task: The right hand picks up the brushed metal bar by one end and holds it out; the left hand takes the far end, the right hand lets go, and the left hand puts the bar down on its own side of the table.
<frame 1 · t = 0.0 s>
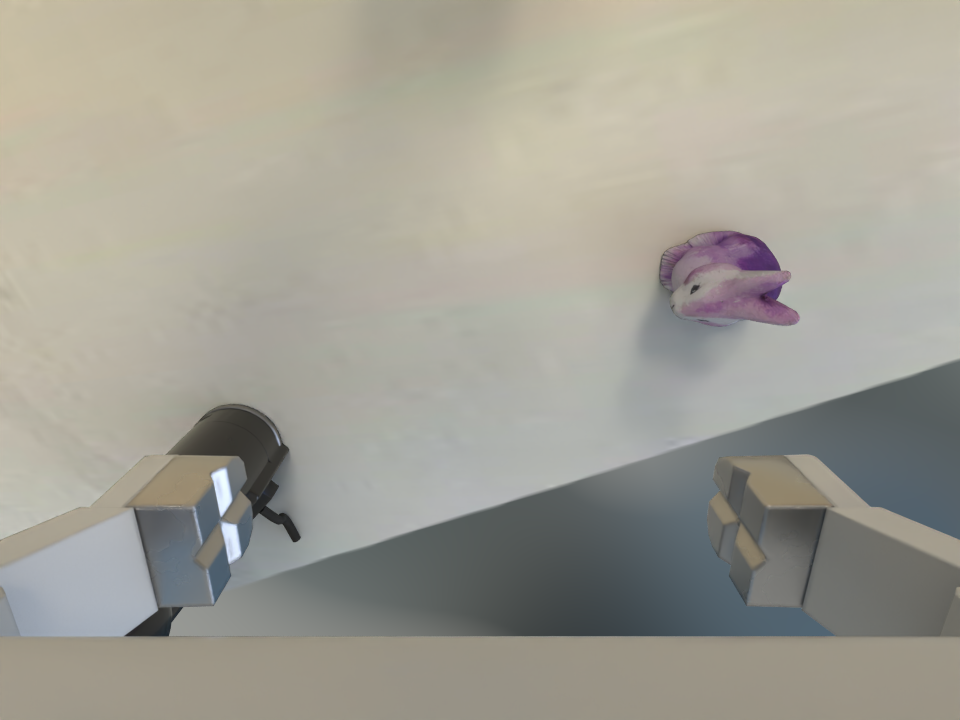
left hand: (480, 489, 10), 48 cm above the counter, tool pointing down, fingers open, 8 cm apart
figurine: (703, 273, 57), on the counter
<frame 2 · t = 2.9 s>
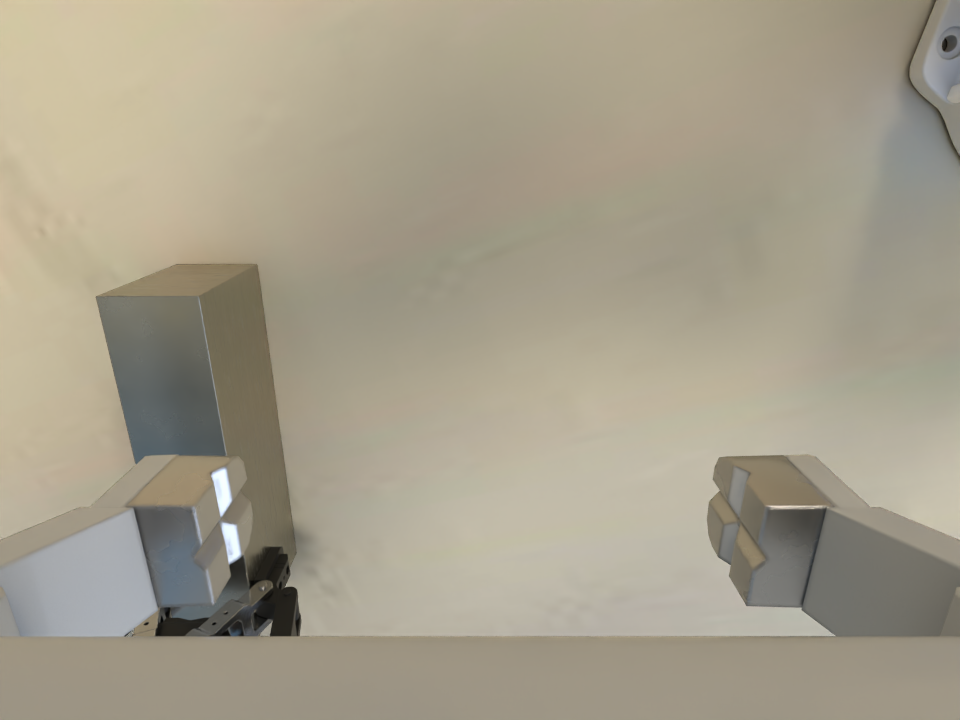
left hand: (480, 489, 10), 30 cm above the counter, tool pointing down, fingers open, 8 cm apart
bar: (242, 422, 43), on the counter, touching right hand
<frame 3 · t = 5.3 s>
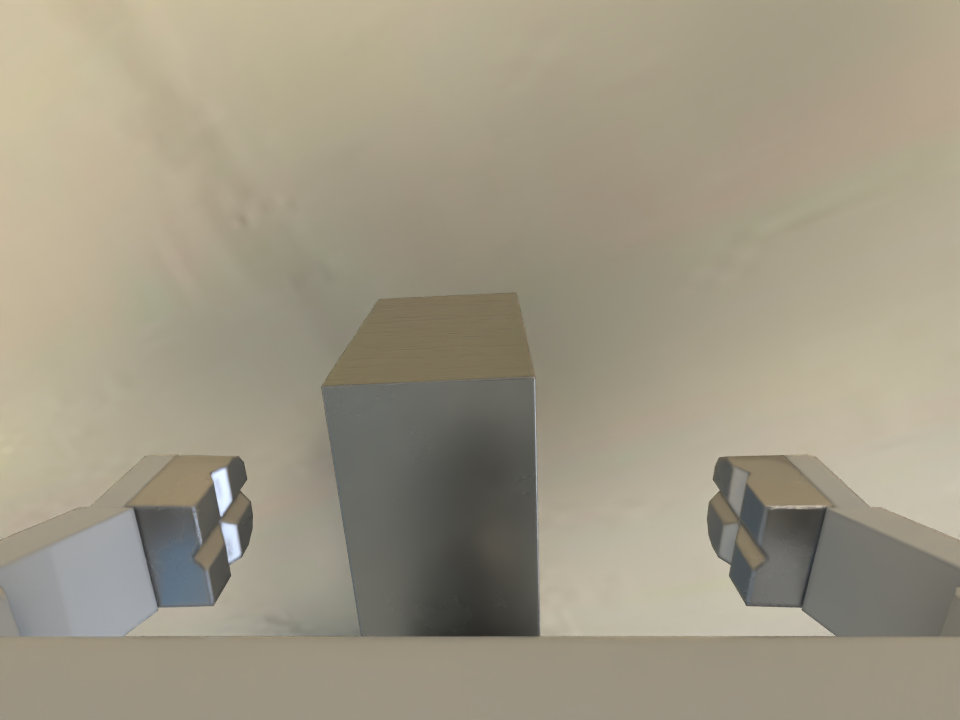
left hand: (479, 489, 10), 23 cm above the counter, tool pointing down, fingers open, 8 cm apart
bar: (465, 541, 27), point 9 cm above the counter, touching right hand
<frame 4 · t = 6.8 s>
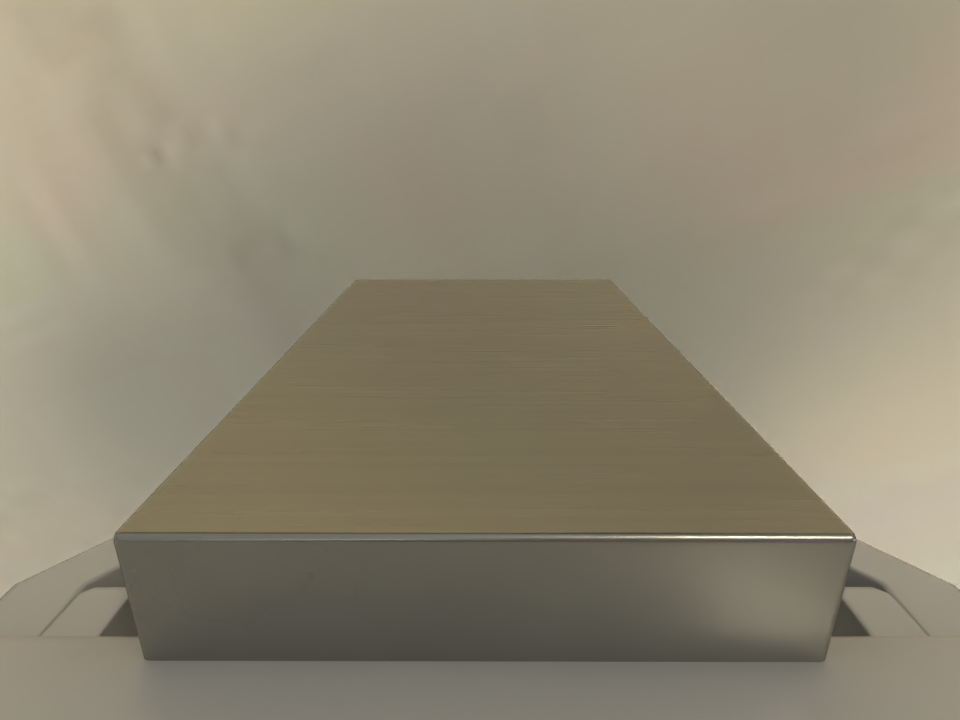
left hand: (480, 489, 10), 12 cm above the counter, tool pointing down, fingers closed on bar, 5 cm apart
bar: (482, 689, 16), point 9 cm above the counter, touching left hand, right hand
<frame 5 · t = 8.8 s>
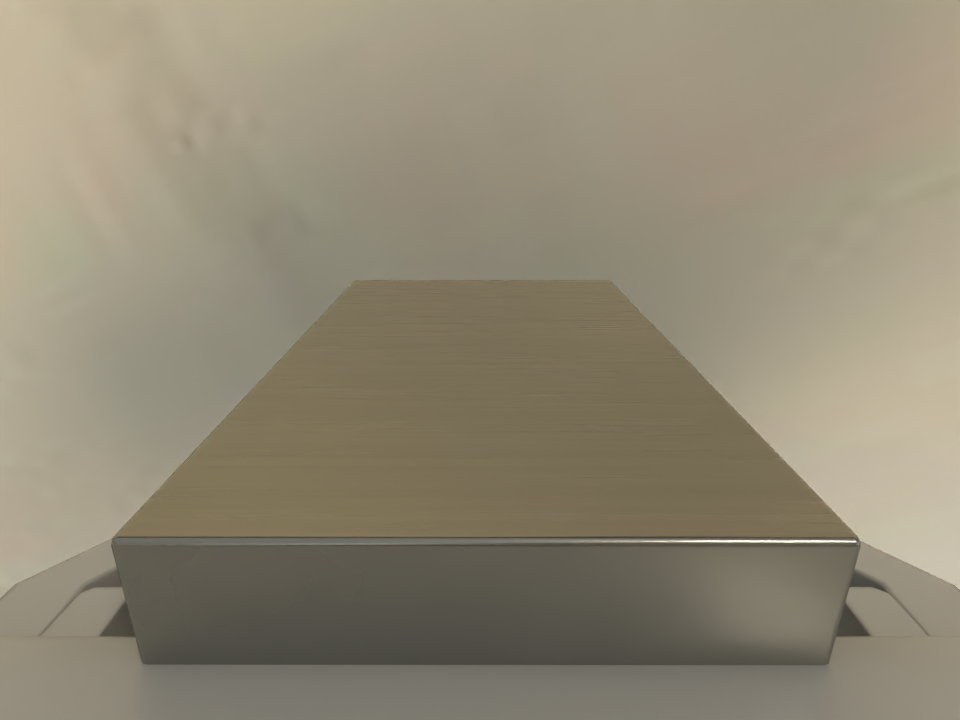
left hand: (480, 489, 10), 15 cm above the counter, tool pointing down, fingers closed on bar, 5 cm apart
bar: (482, 690, 16), point 12 cm above the counter, touching left hand
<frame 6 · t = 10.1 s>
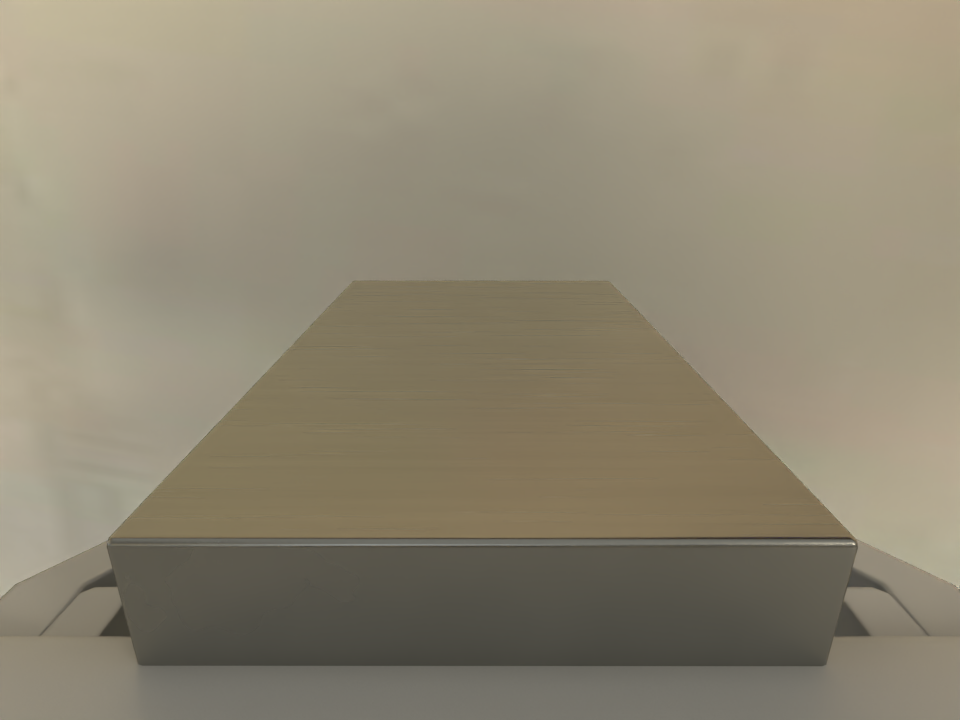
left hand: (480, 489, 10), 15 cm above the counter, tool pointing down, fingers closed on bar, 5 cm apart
bar: (480, 691, 16), point 12 cm above the counter, touching left hand
when the left hand's fingers open (5 cm above the counter, at t = 13.3 s): bar stays where it is, on the counter.
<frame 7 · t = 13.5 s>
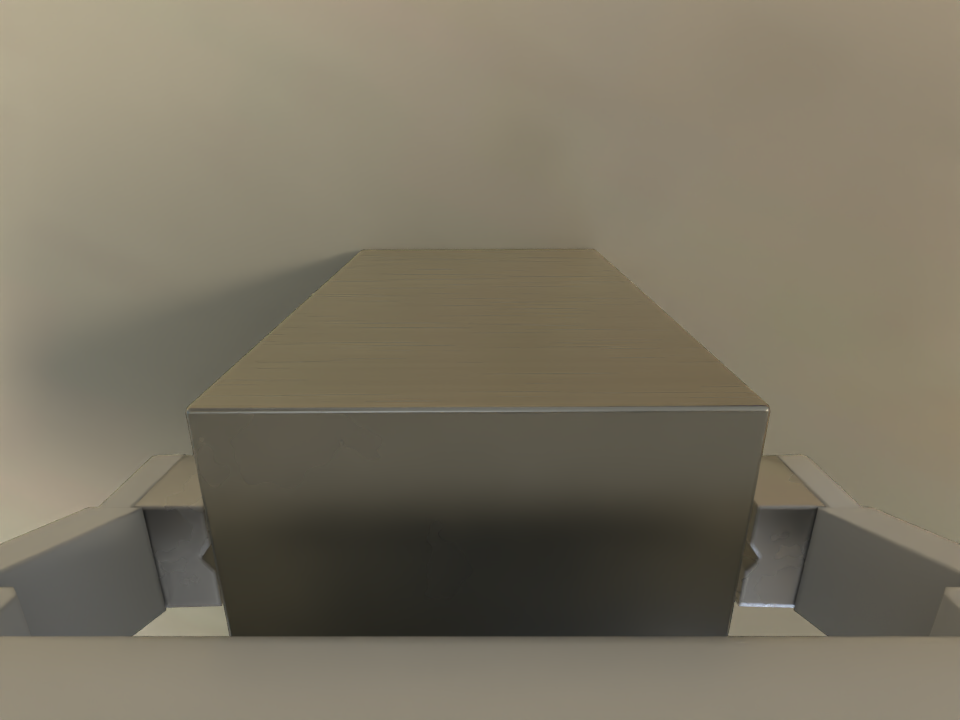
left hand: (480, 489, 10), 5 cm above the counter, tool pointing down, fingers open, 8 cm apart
bar: (479, 638, 18), on the counter
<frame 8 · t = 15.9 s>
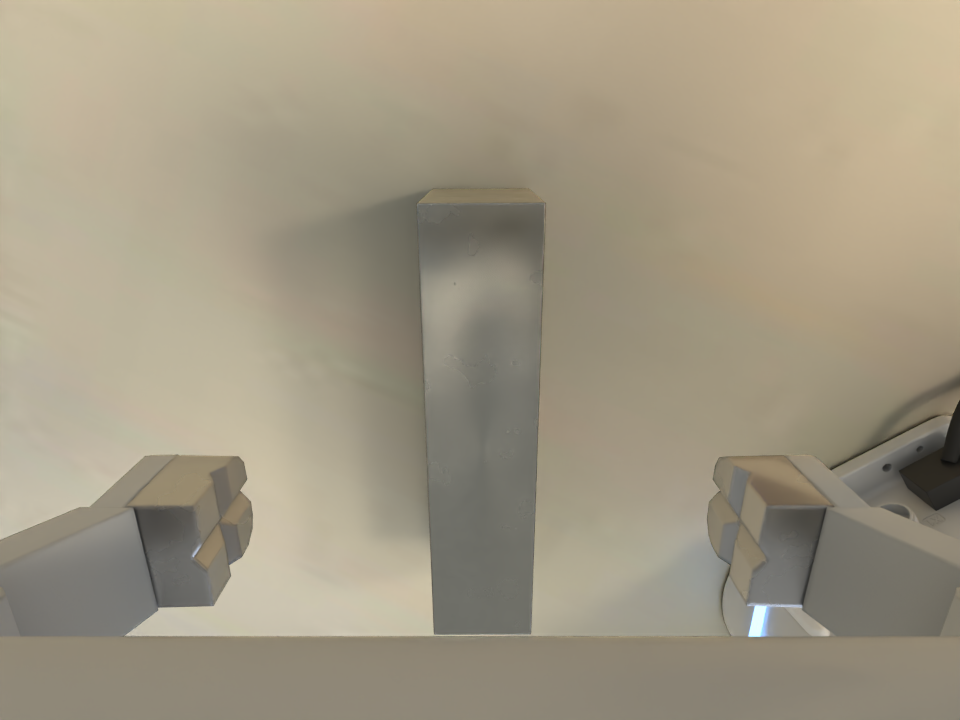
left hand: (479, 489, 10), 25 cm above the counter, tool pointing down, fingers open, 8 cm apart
bar: (481, 382, 37), on the counter
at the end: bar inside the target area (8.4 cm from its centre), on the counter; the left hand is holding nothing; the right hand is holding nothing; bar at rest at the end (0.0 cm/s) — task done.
